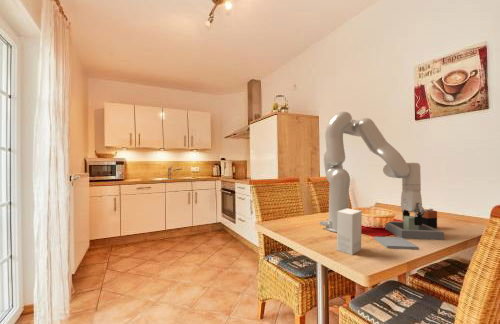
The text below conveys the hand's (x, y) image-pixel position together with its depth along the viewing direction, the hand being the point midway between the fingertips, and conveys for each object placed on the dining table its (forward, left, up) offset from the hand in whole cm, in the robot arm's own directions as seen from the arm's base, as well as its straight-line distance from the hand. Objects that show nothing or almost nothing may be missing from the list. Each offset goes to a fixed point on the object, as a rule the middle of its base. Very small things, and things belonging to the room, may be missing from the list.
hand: (412, 222), depth 115 cm
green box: (-1, 0, -5) cm, 5 cm away
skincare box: (-39, -27, -6) cm, 47 cm away
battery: (+15, +12, -6) cm, 20 cm away
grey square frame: (-1, 0, -5) cm, 5 cm away
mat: (-17, -17, -5) cm, 24 cm away
